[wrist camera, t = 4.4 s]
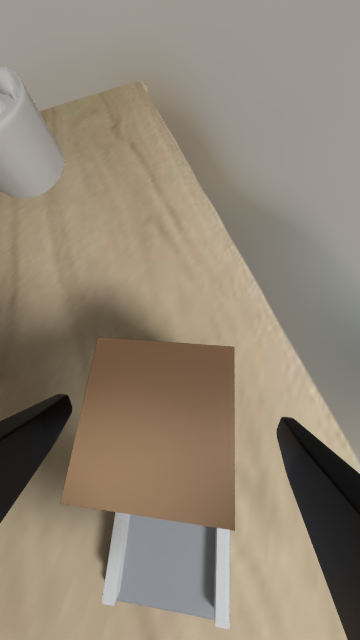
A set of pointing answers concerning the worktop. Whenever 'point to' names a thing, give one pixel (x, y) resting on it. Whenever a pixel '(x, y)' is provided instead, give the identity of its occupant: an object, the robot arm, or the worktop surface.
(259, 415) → the worktop surface
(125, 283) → the worktop surface
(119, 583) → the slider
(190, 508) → the brown rectangular block
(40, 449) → the robot arm
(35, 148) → the lumpy-topped squat cylinder
